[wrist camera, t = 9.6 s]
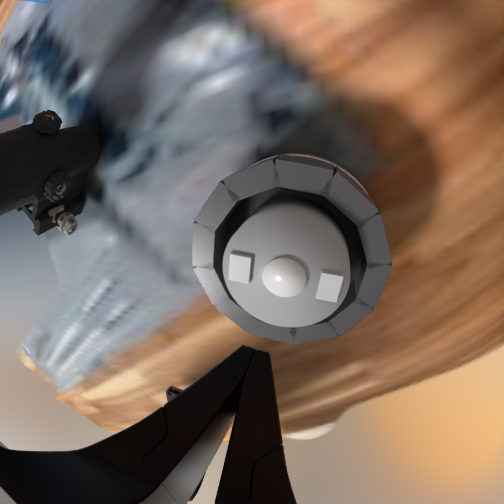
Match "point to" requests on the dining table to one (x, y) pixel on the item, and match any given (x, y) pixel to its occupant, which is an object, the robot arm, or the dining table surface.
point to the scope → (46, 171)
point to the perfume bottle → (42, 0)
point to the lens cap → (288, 262)
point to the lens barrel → (308, 186)
